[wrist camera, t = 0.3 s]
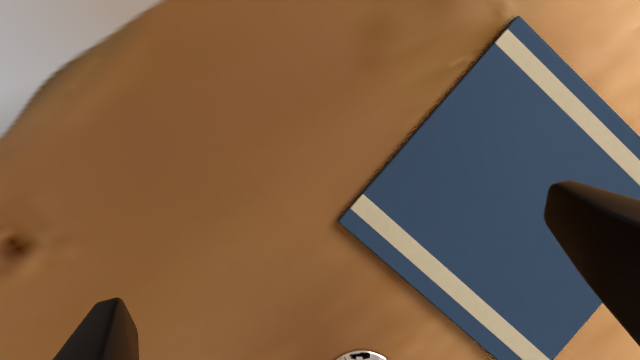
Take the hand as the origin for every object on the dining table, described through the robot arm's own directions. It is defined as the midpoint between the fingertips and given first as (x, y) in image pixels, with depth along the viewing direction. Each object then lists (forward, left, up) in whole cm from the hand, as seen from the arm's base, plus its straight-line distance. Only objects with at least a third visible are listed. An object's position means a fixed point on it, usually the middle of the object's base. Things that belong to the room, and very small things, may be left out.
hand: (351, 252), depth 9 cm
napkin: (-9, -7, -14) cm, 18 cm away
